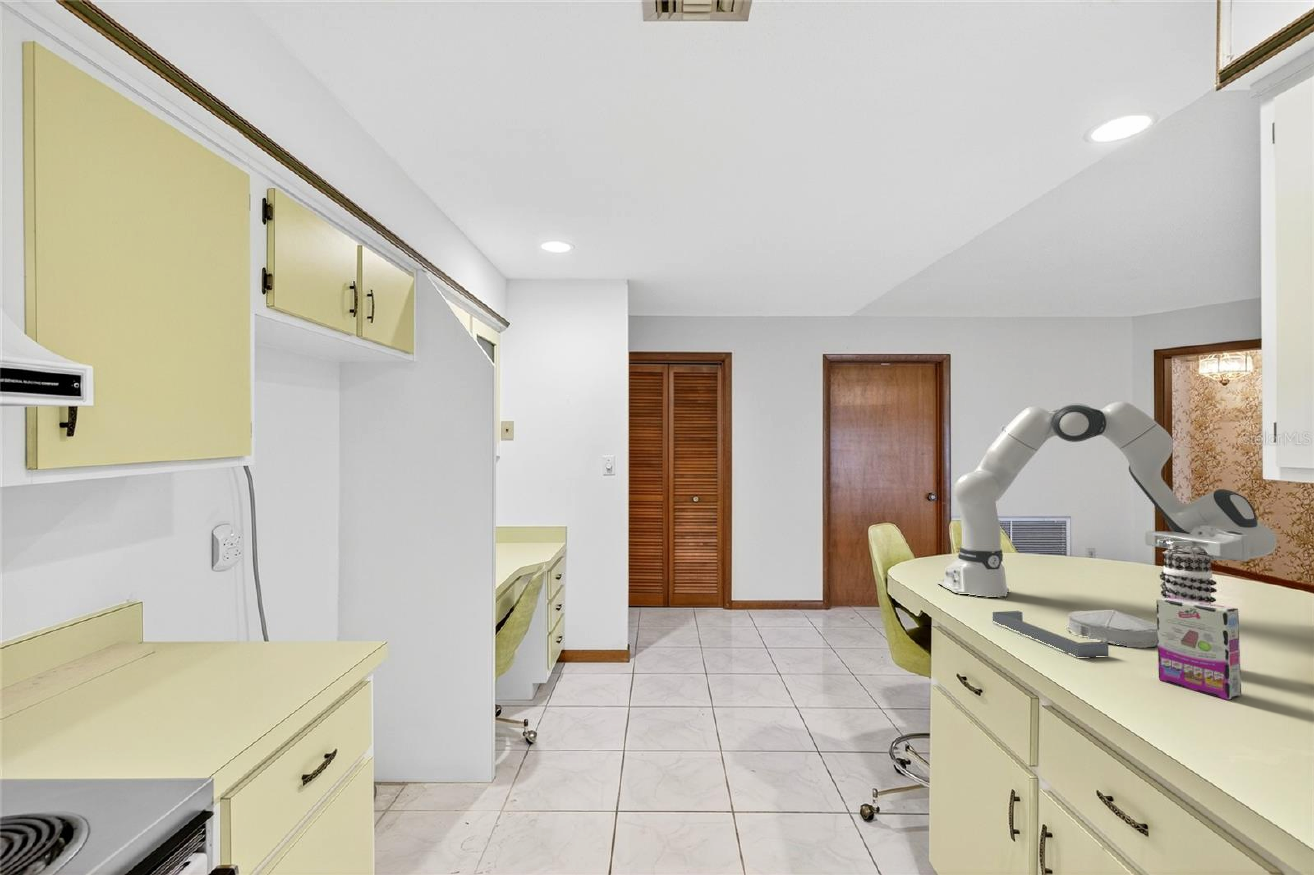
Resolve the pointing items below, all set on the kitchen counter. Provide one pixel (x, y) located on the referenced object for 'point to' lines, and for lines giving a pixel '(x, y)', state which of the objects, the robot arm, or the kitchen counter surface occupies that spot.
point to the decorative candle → (1187, 574)
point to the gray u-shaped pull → (1050, 636)
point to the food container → (1114, 628)
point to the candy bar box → (1199, 646)
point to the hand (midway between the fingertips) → (1164, 544)
